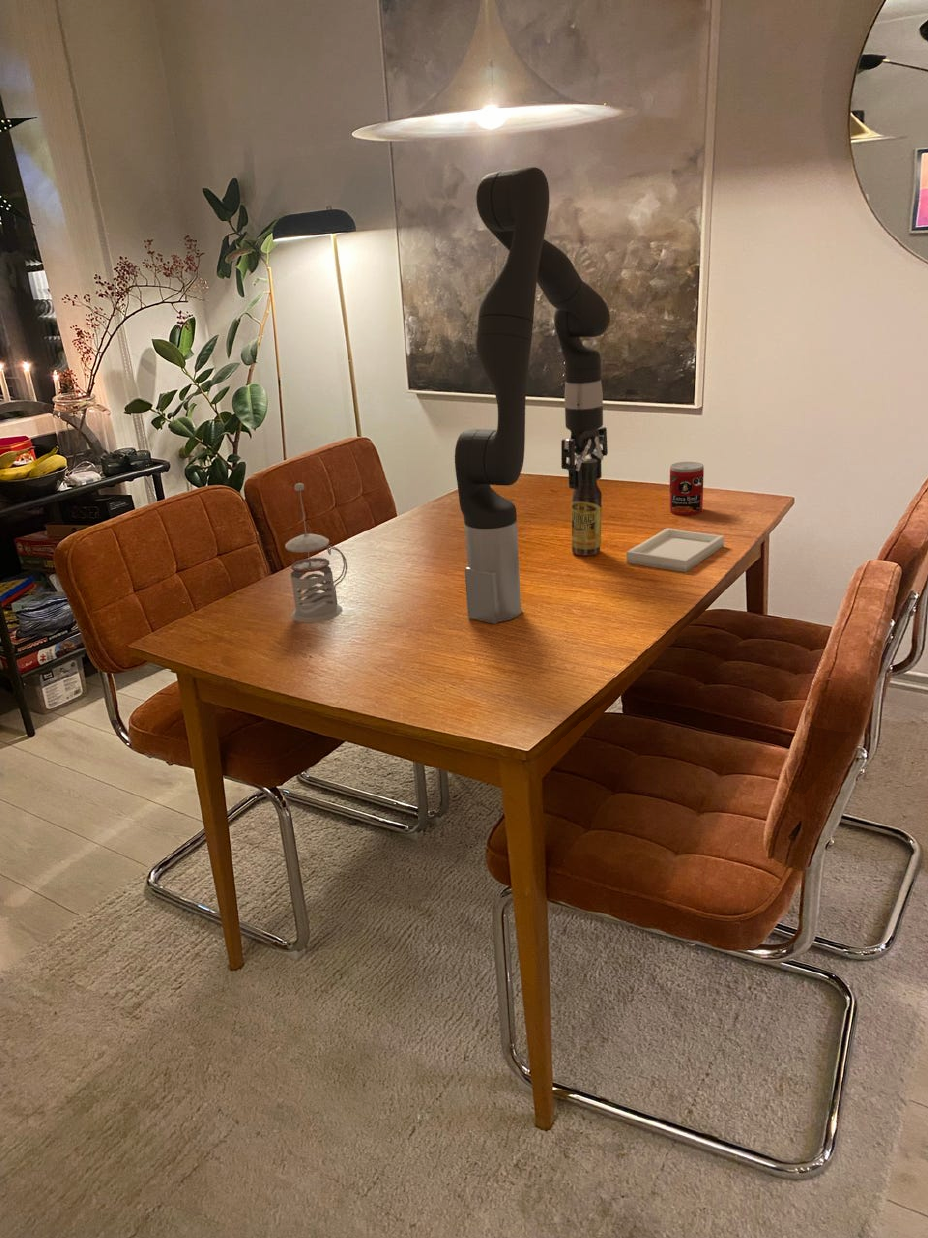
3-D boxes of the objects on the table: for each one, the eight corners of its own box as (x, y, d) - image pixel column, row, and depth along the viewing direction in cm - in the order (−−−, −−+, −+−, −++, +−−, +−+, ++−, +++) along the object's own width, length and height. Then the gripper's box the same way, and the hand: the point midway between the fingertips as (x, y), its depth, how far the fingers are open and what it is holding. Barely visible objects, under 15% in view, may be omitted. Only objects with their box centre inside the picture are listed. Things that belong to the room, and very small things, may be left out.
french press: (286, 609, 178) (266, 481, 169) (345, 597, 182) (329, 472, 172) (296, 626, 170) (276, 493, 160) (357, 614, 173) (341, 482, 164)
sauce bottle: (567, 555, 196) (564, 462, 189) (577, 547, 201) (575, 456, 194) (596, 558, 193) (594, 464, 186) (606, 549, 198) (605, 457, 191)
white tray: (685, 572, 182) (686, 561, 181) (626, 562, 189) (626, 551, 189) (723, 546, 195) (724, 535, 194) (666, 538, 202) (666, 528, 201)
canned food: (667, 515, 218) (668, 469, 214) (670, 506, 225) (671, 461, 221) (701, 516, 216) (702, 469, 212) (703, 506, 223) (704, 461, 219)
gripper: (581, 411, 178) (583, 493, 184) (618, 398, 188) (618, 476, 194) (548, 409, 182) (551, 490, 189) (585, 396, 193) (587, 473, 199)
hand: (585, 483), depth 191 cm, fingers open, 8 cm apart
